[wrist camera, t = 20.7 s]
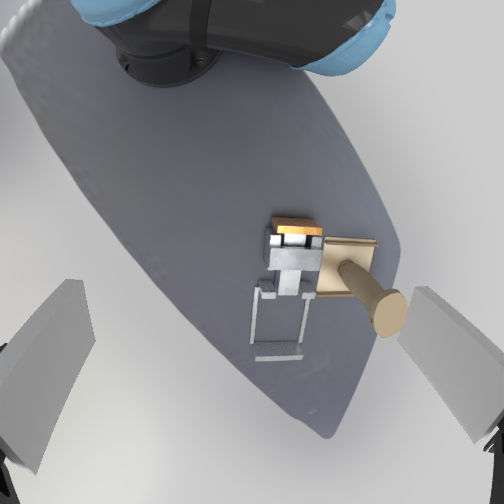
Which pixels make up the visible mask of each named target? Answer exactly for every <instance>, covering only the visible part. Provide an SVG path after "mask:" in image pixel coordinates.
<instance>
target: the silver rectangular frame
mask: <svg viewBox="0 0 504 504" xmlns="http://www.w3.org/2000/svg"><path fill="white" fill-rule="evenodd" d="M259 290H260V294H261V298H262V299H275V298H276V291H275V288H274V285H273V283H272V281H269V280H259V285H258V286H255V287H254V299H253V310H252V322H251V334H250V344H253V351H254V357H255V361H281V360H302V357H303V354H302V351H301V348H300V346H299V343H302V338H303V333H304V328H305V323H306V318H307V313H308V307H309V302H310V299H315V294H316V292H315V291H314V289H313V287H312V286H311V284H310V283H309V281H300V282H299V289H298V292H299V294H300V296H301V298H302V299H305V305H304V310H303V316H302V321H301V327H300V332H299V337H298V341H286V342H254V333H255V323H256V312H257V302H258V291H259Z"/></svg>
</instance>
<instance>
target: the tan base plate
mask: <svg viewBox="0 0 504 504" xmlns="http://www.w3.org/2000/svg"><path fill="white" fill-rule="evenodd" d="M375 241H376V240H375V239H360V238H343V237H324V243H323V253H322V260H321V266H320V271H319V274H318V280H317V286H316V291H315V292H316V294H315V296H318V297H346V296H354V295H353V294H352V293H351V292H350V291H349V289H348V288H347V287H346V285H345V284H344V282H343V280H342V278H341V277H340V276H339V274H338V269H339V268H340V263H341V262H345V261H347V260H352V261H353V262H354V263H356V264H358V265H360V266H361V267H363V268H364V269H365V270H366V271H368V272H369V269H370V265H371V260H372V256H373V251H374V247H378V244H377V243H375Z"/></svg>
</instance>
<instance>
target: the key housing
mask: <svg viewBox="0 0 504 504" xmlns="http://www.w3.org/2000/svg"><path fill="white" fill-rule="evenodd" d="M280 243H281V234H280V233H277V232H276V230H275V229H274V227H266V237H265V248H264V262H265V265H266V267H267V270H308V271H320V266H321V260H322V253H323V250H322V249H321V243H322V237H321V236H320V235H306V240H305V247H287V246H280Z"/></svg>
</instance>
